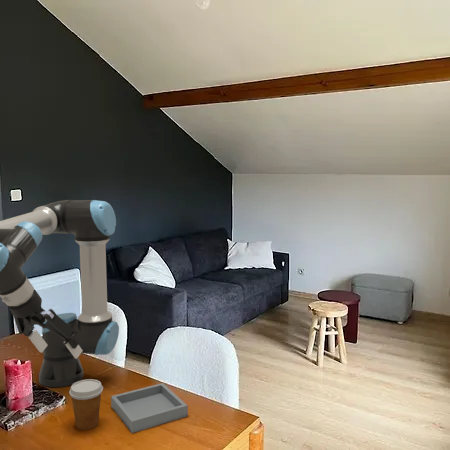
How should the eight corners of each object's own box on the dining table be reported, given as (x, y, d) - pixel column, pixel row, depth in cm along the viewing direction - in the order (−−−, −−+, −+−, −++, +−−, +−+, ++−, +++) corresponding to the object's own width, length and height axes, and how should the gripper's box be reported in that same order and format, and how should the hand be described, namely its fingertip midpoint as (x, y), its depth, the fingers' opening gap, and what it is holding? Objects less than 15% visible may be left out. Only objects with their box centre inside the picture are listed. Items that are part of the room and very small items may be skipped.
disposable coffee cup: (94, 434, 134) (93, 394, 133) (64, 431, 136) (62, 391, 134) (109, 417, 143) (108, 380, 142) (80, 414, 145) (79, 377, 144)
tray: (111, 406, 150) (111, 396, 150) (162, 392, 159) (162, 383, 159) (131, 433, 135) (131, 421, 134) (187, 416, 144) (187, 405, 144)
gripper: (-21, 304, 123) (21, 356, 134) (46, 311, 111) (86, 368, 123) (-1, 284, 128) (38, 336, 140) (65, 289, 117) (102, 345, 128)
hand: (61, 351), depth 131 cm, fingers open, 13 cm apart
